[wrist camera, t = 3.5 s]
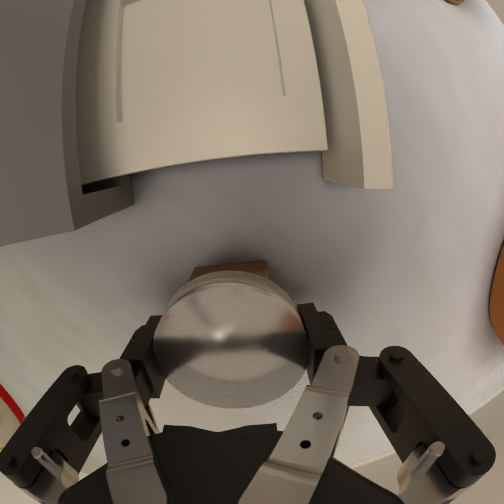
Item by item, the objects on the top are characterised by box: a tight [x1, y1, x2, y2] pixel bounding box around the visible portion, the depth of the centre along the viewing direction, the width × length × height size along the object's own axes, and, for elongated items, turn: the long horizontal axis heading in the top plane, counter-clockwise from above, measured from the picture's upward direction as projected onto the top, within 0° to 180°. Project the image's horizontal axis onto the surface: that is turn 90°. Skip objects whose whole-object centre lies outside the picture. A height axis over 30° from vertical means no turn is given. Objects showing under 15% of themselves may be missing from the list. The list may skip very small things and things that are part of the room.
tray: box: [76, 0, 393, 189], centre depth 9 cm, size 18×16×5 cm
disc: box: [153, 271, 308, 408], centre depth 11 cm, size 6×6×2 cm
